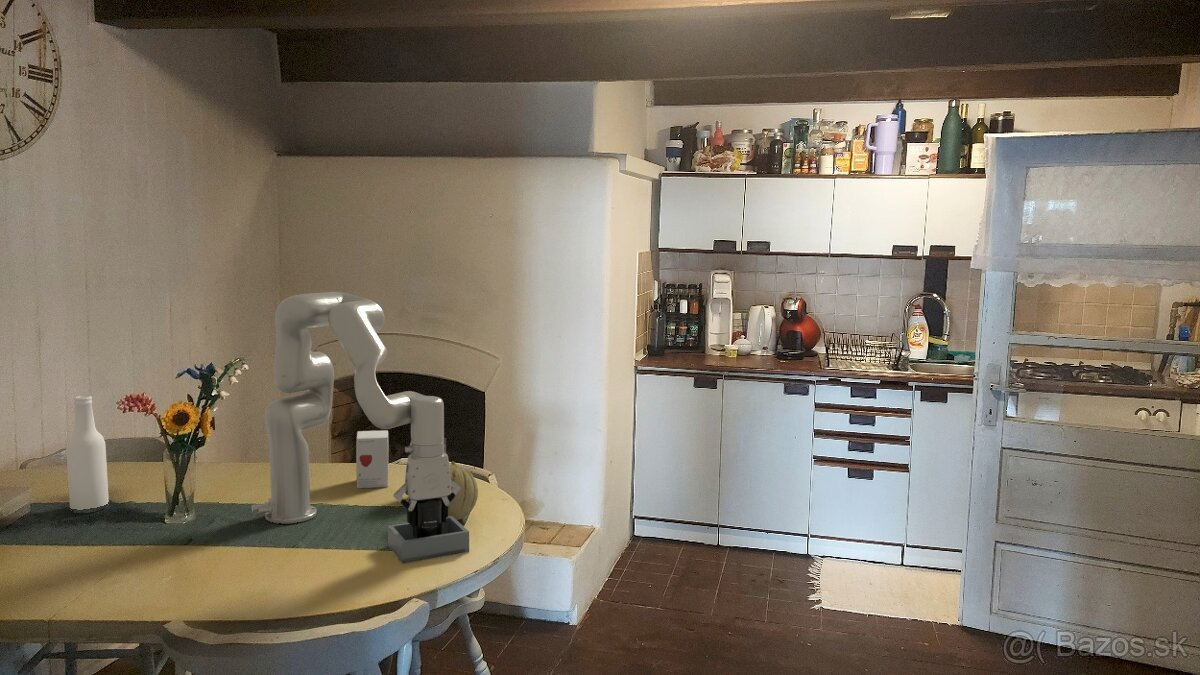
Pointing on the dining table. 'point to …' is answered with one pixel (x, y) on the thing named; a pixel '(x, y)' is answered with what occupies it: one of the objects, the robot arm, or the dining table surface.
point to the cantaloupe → (462, 492)
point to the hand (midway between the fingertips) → (427, 522)
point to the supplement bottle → (428, 518)
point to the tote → (428, 542)
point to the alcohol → (86, 460)
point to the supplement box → (372, 459)
